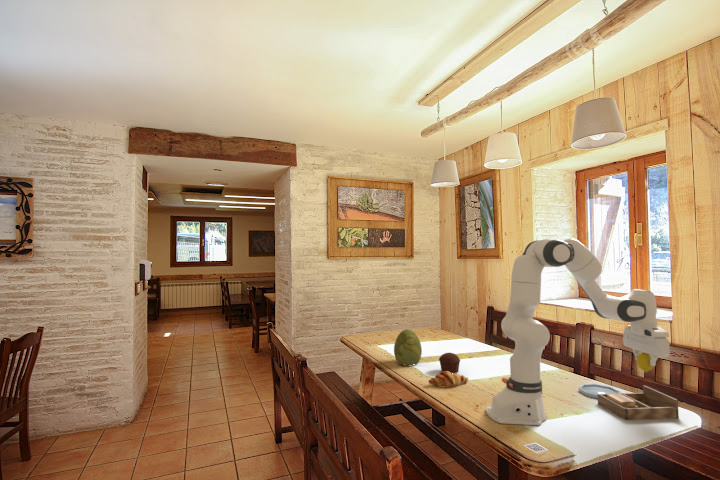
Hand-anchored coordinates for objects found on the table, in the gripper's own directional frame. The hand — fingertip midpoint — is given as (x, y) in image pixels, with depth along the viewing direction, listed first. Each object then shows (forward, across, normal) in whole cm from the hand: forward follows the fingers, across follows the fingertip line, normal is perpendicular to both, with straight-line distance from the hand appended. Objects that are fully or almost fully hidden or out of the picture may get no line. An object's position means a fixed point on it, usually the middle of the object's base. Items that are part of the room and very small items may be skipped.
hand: (645, 362), depth 154 cm
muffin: (+19, -56, -66) cm, 88 cm away
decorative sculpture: (+20, -74, -86) cm, 115 cm away
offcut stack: (+19, 0, -11) cm, 22 cm away
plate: (+19, -19, -7) cm, 27 cm away
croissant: (+20, -36, -72) cm, 82 cm away
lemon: (+4, 0, 0) cm, 4 cm away
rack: (+19, 0, -5) cm, 19 cm away
